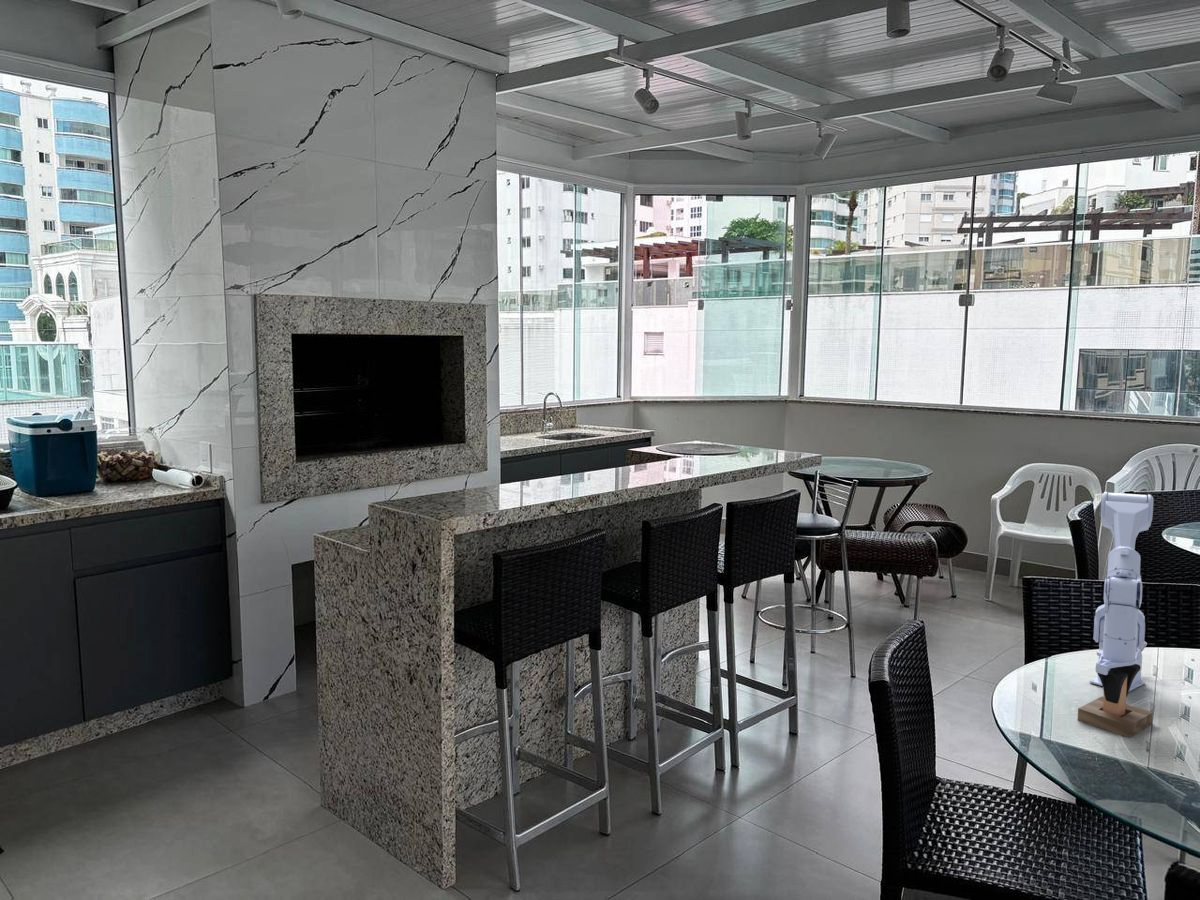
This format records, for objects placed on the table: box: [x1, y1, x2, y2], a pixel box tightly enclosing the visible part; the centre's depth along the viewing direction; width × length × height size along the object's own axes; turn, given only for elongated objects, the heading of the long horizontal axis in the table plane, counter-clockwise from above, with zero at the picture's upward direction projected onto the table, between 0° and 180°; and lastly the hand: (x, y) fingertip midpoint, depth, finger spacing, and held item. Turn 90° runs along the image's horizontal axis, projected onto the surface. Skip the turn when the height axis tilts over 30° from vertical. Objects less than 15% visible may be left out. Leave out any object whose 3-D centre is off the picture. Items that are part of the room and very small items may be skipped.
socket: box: [1077, 695, 1154, 738], centre depth 180 cm, size 10×10×2 cm
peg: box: [1103, 677, 1127, 717], centre depth 179 cm, size 3×3×8 cm
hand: (1116, 699), depth 179 cm, fingers closed on peg, 3 cm apart
